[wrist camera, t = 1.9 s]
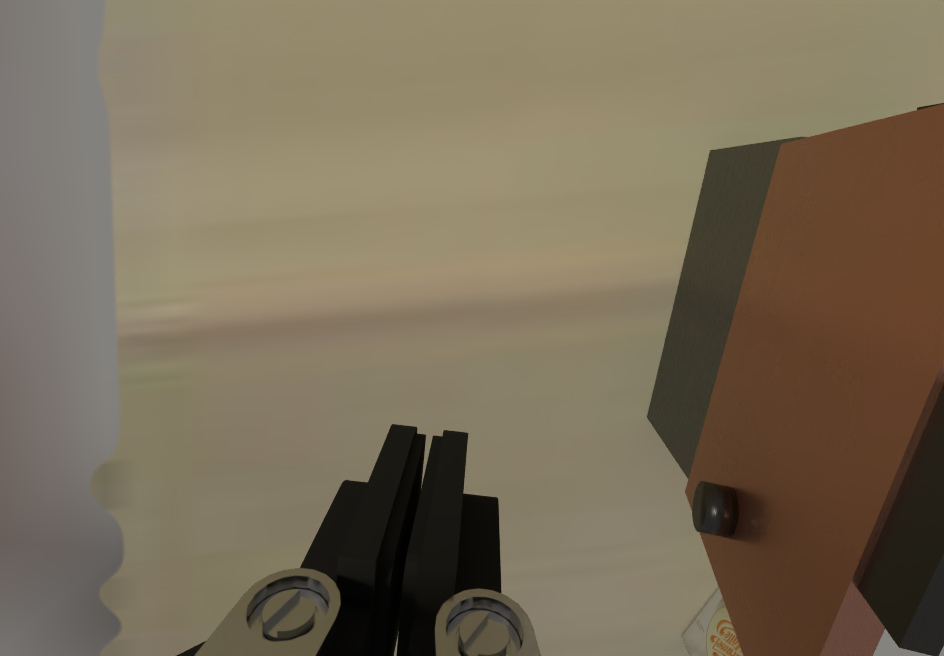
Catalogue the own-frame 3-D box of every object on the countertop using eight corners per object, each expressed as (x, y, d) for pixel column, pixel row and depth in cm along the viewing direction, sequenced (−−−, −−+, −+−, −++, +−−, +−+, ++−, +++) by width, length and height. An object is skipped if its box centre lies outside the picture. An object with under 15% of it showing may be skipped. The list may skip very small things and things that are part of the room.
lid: (815, 148, 23) (749, 142, 23) (1302, 55, 7) (1078, 43, 8) (713, 493, 28) (662, 482, 29) (873, 849, 13) (757, 812, 13)
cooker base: (719, 112, 32) (824, 79, 22) (970, 140, 32) (1191, 120, 22) (640, 444, 39) (692, 534, 29) (845, 468, 39) (969, 566, 29)
